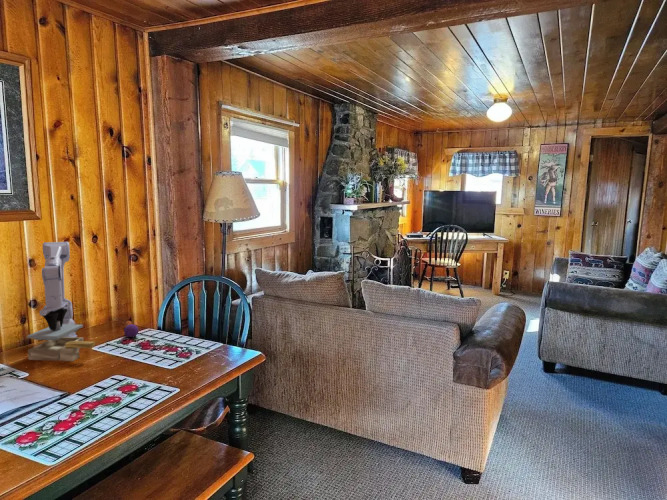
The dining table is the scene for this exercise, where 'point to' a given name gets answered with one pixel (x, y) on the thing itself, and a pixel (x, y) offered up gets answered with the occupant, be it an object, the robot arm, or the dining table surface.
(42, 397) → the dining table surface
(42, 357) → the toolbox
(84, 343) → the yellow rectangular block
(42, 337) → the lid
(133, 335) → the kendama
